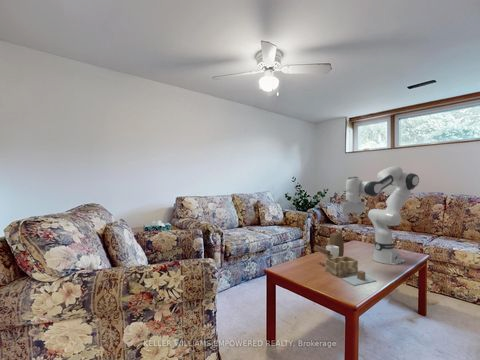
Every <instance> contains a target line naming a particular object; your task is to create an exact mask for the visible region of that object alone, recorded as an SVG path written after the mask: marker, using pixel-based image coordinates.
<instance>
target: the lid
mask: <svg viewBox="0 0 480 360" xmlns="http://www.w3.org/2000/svg"><path fill="white" fill-rule="evenodd" d="M341 280H342V281H344V282H346V283H347V284H349V285H351V286H353V287H356V286H360V285H361V286H362V285H365V284H371V283H375V282H377V279H375V278H373V277H370V276H368V275H366V271H364V270H361V269H360V270H358V271H357V273H356V275H353V276H352V275H351V276H347V277H341Z"/></svg>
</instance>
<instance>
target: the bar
mask: <svg viewBox="0 0 480 360" xmlns="http://www.w3.org/2000/svg"><path fill="white" fill-rule="evenodd" d="M313 250H314V251H317V252H319V253H321V254H322V255H325V256H326V255H328V256H330V251H329V250H327V249H326V248H324V247H322V246H319V245H317V244H316V245H313Z"/></svg>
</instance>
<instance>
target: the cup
mask: <svg viewBox="0 0 480 360" xmlns="http://www.w3.org/2000/svg"><path fill="white" fill-rule="evenodd" d="M325 249H327V250H329V251H330V254H332V255H333V258H336V257H338V254H339V247H338V246H335V245H329V244H328V245H326V246H325Z"/></svg>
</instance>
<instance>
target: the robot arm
mask: <svg viewBox="0 0 480 360" xmlns="http://www.w3.org/2000/svg"><path fill="white" fill-rule="evenodd" d="M376 178H377V181H364V180H361V178H359V177H358V176H350V177H348V178H347V179H346V181H345V191H346V192H345V199H342V200H341V201H340V205H339V213H340V214H343V215H344V217H345V220H349V219H350V217H349V216H348V214H355V213H356V214H357V215H356V216H355V219H357V220H358V219H360V216H361V214H362V213H365V211H366V198H362V197H361V196H360V195H363V196H370V197H376V196H378V195H379V194H380V193H381V192H382V191H383V190H384V189H386V188H387V187H389V186H390V185H391V186H396V187H395V189H394V190H393V191H392V192H391V194H390V195H389V196H388V198H387V199H386V200H385V206H386V208H385V209H381V208H371V209H370V210H369V211H368V213H367V217H368V219H369V220H370V222H371V224H372V226H373V229H374V234H375V235H374V236H375V237H374V239H375V240H374V248H373V255H372V260H373V261H375V262H376V263H381V264H385V265H387V264H388V265H393V266H396V265H399V264H402V263H405V262H406V260H405V259H404V258H402V255H401V253H400V252H399V250H397V249H396V248H395V247H397V243H394V242H393V232H392V231H391V230H390V229H389V227H388V226H390V227H396V226H399V225H400V224H401V223H402V215H401V214H400V212H401V209H402V208H403V206H404V205H405V204H406V202H407V201H408V200H409V198H410V195H411V193H412V192H411V191H412V190H414V189H415V188H416V187H417V186H418V185H419V183H420V178H419V176H418V175H417V174H416V173H413V172H411V173H409V172H404V171H403V169H402V167H400V166H399V165H392V166H389V167H386V168H384V169H382V170H380V171H379V172H378V173H377V177H376ZM404 261H405V262H404ZM401 262H402V263H401ZM398 263H399V264H398Z"/></svg>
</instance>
